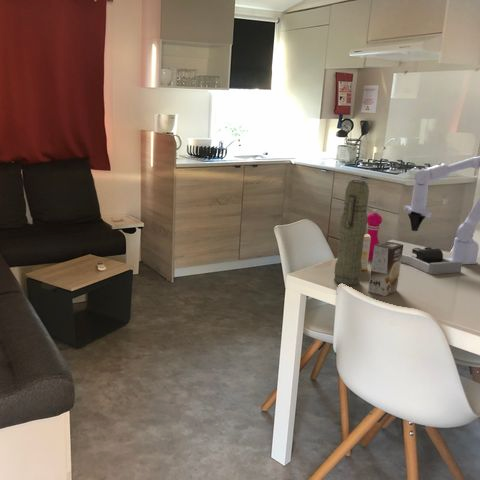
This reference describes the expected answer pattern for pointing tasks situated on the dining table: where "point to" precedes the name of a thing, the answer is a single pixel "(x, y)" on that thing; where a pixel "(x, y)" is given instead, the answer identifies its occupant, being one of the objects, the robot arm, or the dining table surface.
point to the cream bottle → (365, 251)
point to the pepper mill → (373, 230)
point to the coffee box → (385, 268)
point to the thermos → (352, 233)
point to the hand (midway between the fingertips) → (414, 230)
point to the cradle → (433, 265)
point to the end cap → (428, 255)
